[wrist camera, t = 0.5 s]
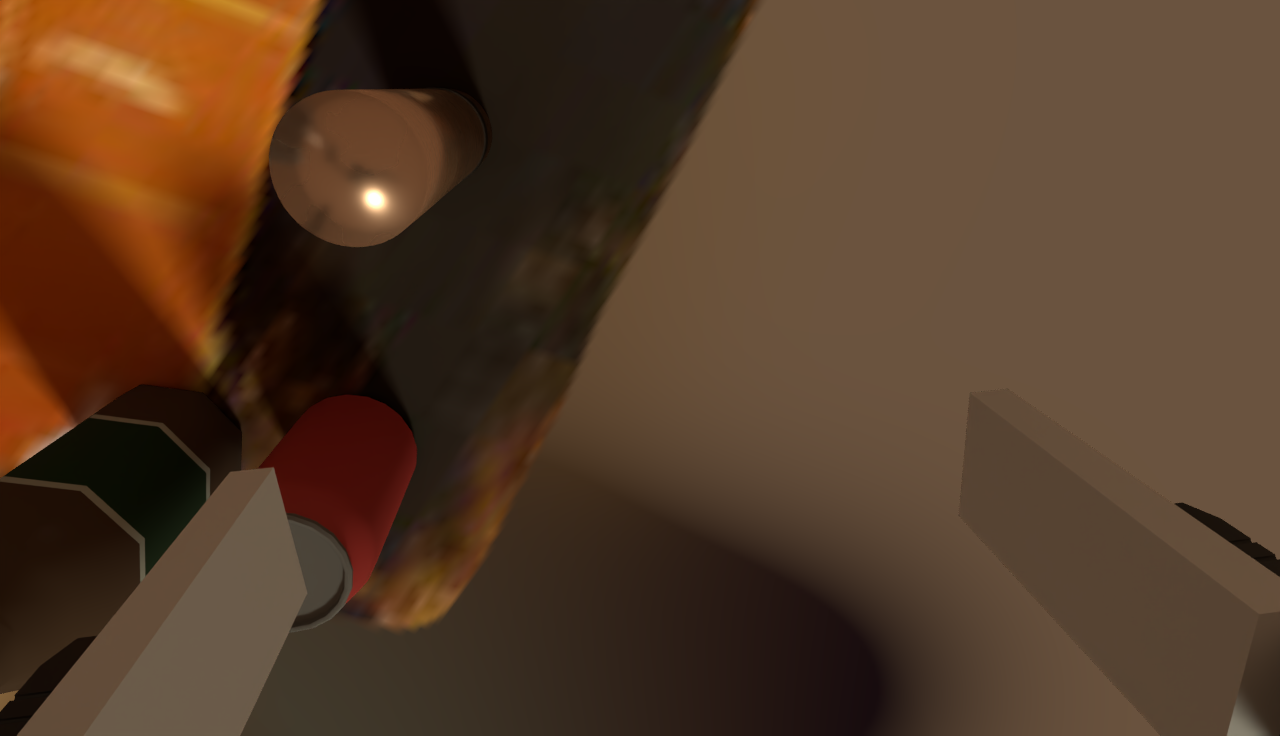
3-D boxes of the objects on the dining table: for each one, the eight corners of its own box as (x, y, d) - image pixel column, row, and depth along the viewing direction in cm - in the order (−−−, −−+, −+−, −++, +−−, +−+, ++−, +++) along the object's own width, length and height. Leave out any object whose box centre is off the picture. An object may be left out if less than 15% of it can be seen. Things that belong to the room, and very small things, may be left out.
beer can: (331, 367, 41) (239, 474, 29) (442, 430, 42) (395, 554, 31) (272, 462, 42) (163, 598, 31) (381, 519, 44) (315, 668, 33)
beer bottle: (130, 351, 40) (-451, 699, 17) (276, 423, 42) (-73, 822, 19) (73, 469, 41) (-518, 923, 19) (215, 533, 43) (-168, 1014, 21)
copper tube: (390, 144, 37) (239, 193, 20) (432, 69, 36) (312, 53, 19) (465, 193, 38) (382, 277, 21) (509, 120, 37) (458, 149, 20)
